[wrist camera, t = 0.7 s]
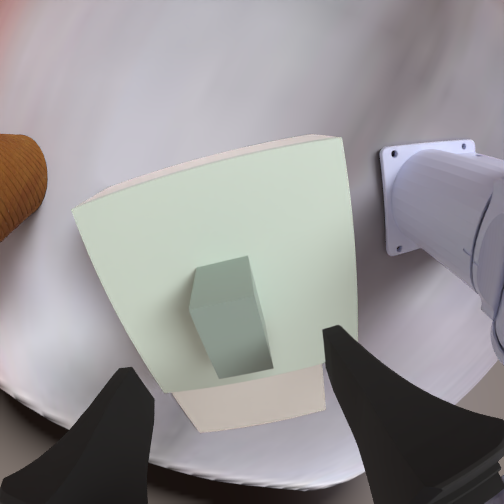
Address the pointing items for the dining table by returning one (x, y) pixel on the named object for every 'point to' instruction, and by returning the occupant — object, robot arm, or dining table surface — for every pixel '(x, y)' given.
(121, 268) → the lid
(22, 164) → the disposable coffee cup
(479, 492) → the robot arm
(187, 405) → the mat
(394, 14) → the dining table surface
